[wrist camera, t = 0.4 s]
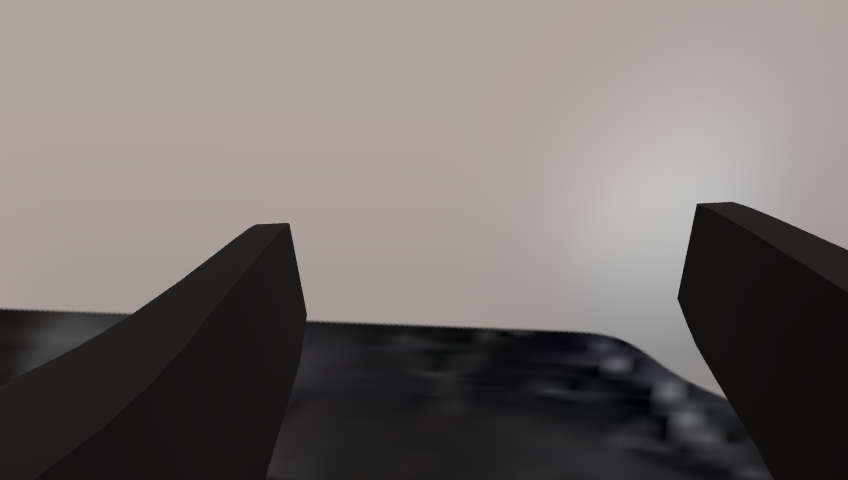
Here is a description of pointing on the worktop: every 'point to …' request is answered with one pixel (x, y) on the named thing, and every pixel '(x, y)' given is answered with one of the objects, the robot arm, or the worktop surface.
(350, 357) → the worktop surface
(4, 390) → the robot arm
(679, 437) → the worktop surface
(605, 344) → the worktop surface
